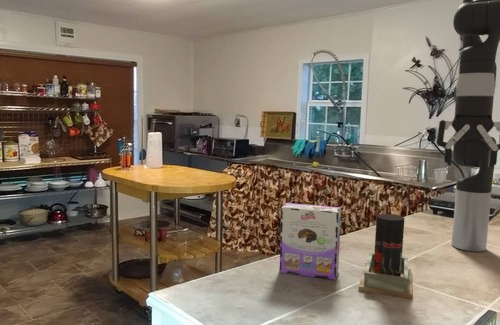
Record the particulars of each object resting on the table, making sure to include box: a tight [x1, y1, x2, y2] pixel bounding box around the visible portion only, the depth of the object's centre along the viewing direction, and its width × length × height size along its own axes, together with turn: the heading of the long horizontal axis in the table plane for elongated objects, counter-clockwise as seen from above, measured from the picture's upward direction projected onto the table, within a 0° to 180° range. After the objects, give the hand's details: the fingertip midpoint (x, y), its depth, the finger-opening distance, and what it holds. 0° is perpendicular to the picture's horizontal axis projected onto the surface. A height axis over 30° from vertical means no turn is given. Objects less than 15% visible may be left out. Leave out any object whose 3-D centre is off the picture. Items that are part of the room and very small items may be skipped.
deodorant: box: [373, 213, 405, 277], centre depth 96 cm, size 6×6×15 cm
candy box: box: [278, 202, 342, 280], centre depth 104 cm, size 14×6×16 cm, turn 71°
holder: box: [358, 252, 413, 300], centre depth 100 cm, size 16×11×4 cm
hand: (469, 166), depth 98 cm, fingers open, 8 cm apart
